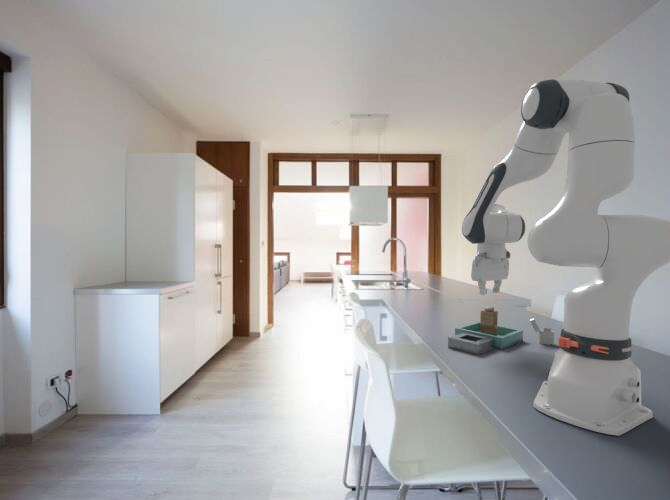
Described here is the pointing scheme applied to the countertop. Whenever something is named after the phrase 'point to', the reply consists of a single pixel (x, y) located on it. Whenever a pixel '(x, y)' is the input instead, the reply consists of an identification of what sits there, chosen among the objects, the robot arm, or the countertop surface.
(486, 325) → the brown wooden tall block
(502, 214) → the robot arm
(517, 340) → the tray
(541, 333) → the lighter
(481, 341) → the grey square box
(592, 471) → the countertop surface
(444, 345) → the countertop surface
